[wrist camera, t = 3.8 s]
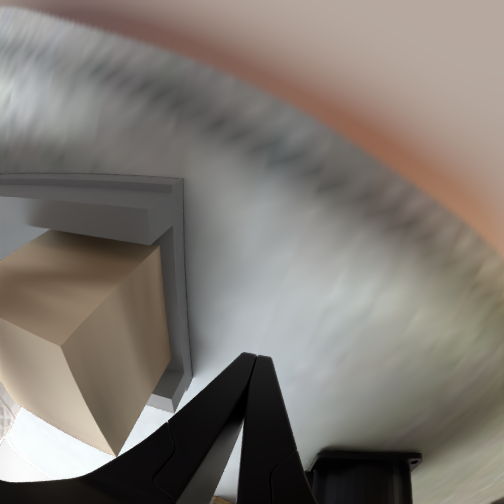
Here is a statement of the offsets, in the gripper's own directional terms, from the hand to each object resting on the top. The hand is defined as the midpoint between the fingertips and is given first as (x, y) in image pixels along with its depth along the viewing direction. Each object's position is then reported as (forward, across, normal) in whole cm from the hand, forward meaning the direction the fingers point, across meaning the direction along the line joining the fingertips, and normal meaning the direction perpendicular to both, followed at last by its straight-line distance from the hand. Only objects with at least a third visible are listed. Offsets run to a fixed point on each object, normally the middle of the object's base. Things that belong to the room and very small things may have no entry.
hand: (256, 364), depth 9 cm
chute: (+2, +11, 0) cm, 11 cm away
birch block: (+2, +6, 0) cm, 6 cm away
